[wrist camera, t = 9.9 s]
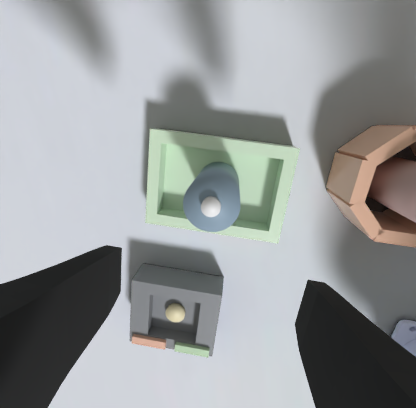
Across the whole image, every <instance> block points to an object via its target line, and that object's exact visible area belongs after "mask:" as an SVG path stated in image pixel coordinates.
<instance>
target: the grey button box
mask: <svg viewBox="0 0 416 408" xmlns="http://www.w3.org/2000/svg"><path fill="white" fill-rule="evenodd" d="M223 278H224V277H222V276H216V275H210V274H204V273H198V272H192V271H186V270H180V269H174V268H168V267H162V266H156V265H150V264H144V263H143V264H142V266H141V267H140V269H139V270H138V272H137V273H136V275H135V276H134V277H133V279H132V284H131V315H130V341H132V343H133V344H138V345H144V346H149V347H154V348H160V349H165V348H169V349H175V351H176V352H181V353H186V354H192V355H197V356H202V357H208V356H212V354H213V348H214V342H215V336H216V330H217V323H218V317H219V311H220V305H221V299H222V291H223Z"/></svg>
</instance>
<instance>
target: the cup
mask: <svg viewBox="0 0 416 408" xmlns="http://www.w3.org/2000/svg"><path fill="white" fill-rule="evenodd" d="M408 146H410V148H411V150H412V151H413V153H414V155H415V156H416V125H375V126H371V127H370V128H368V129H367V130H365V131H364V132H362V133H361V134H360V135H358V136H357V137H355V138H354V139H352V140H351V141H349V142H348V143H346V144H345V145H343V146H342V147H340V148H339V149H337V150H338V151H339V153H337V152H335V155H334V159H333V163H332V166H331V170H330V174H329V177H328V181H327V185H326V188H328V189H327V192H328V193H329V195H330V196H331V198H332V199H333V201H334V202H335V204H336V205H337V206H338V208H339V209H340V211H341V212H342V214H343V215H344V217H346V218H347V219H348V220H349V221H350V222H351V223H353V224H354V225H355V226H356V227H357V228H359V229H360V230H361V231H362V232H363V233H364V234H366V235H367V236H368V237H369V238H370V239H371V240H373V241H375V242H382V243H388V244H395V245H401V246H408V247H415V248H416V223H415V222H413V221H412V220H410V219H408V218H406V217H404V216H402V215H401V214H399V213H397V212H395V211H393V210H392V209H390V208H389V209H387V210H385V211H383V212H377V211H370V209H369V208H368V206H367V205H366V203H365V200H366V197H367V194H368V191H369V188H370V185H371V182H372V179H373V175H374V172H375V169H376V166H377V165H379V164H381V163H382V162H384V161H385V160H387V159H388V158H390V157H392V156H393V155H395V154H396V153H398V152H400V151H401V150H403V149H404V148H406V147H408Z"/></svg>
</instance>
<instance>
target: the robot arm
mask: <svg viewBox="0 0 416 408" xmlns="http://www.w3.org/2000/svg"><path fill="white" fill-rule="evenodd" d="M121 252H122V248H119V247H113V246H108V245H106V246H103V247H100V248H97V249H94V250H92V251H89V252H87V253H84V254H82V255H80V256H77V257H75V258H72V259H70V260H67V261H65V262H62V263H60V264H57V265H55V266H52V267H49V268H47V269H44V270H41V271H38V272H36V273H33V274H30V275H28V276H25V277H22V278H19V279H16V280H13V281H10V282H6V283H3V284H0V408H48V406H49V404H50V403H51V401H52V399H53V397H54V396H55V394H56V392H57V391H58V389H59V387H60V385H61V384H62V382H63V381H64V379H65V378H66V376H67V374H68V373H69V371H70V370H71V368H72V367H73V366H74V364H75V363H76V361H77V360H78V358H79V357H80V356H81V354H82V353H83V351H84V350H85V348H86V347H87V345H88V344H89V343H90V341H91V340H92V338H93V337H94V335H95V334H96V333H97V331H98V330H99V328H100V327H101V325H102V324H103V322H104V321H105V319H106V318H107V316H108V315H109V313H110V311H111V309H112V308H113V306H114V304H115V302H116V300H117V298H118V296H119V294H120V292H121ZM295 327H296V334H297V341H298V346H299V352H300V355H301V359H302V363H303V366H304V369H305V373H306V376H307V380H308V383H309V387H310V390H311V393H312V397H313V400H314V403H315V407H316V408H416V321H411V320H400V321H399V322H398V323H397V325H396V328H395V330H394V332H393V334H392V337H390V336H388V335H387V334H386V333H384V332H383V331H382V330H381V329H380V328H378V327H377V326H376V325H375V324H373V323H372V322H371V321H370V320H369V319H368V318H366V317H365V316H364V315H363V314H362V313H360V312H359V311H358V310H357V309H356V308H355V307H353V306H352V305H351V304H350V303H349V302H348V301H346V300H345V299H344V298H343V297H342V296H341V295H339V294H338V293H337V292H336V291H335V290H333V289H332V288H331V287H330V286H328V285H327V284H326V283H323V282H317V281H312V280H308V281H307V284H306V288H305V291H304V295H303V298H302V302H301V305H300V308H299V312H298V315H297V319H296V322H295ZM410 327H411V328H410Z"/></svg>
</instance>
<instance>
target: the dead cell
mask: <svg viewBox="0 0 416 408" xmlns="http://www.w3.org/2000/svg"><path fill="white" fill-rule="evenodd" d="M367 196H368V197H370V198H372V199H373V200H375V201H377V202H379V203H381V204H382V205H384V206H386V207H388V208H390V209H392V210H393V211H395V212H397V213H399V214H401V215H402V216H404V217H406V218H408V219H410V220H412V221H413V222H415V223H416V161H413V160H408V159H403V158H398V157H393V156H392V157H390V158H388V159H387V160H385V161H384V162H382V163H381V164H379V165H377V166H376V169H375V172H374V175H373V179H372V182H371V185H370V188H369V191H368V194H367Z"/></svg>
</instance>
